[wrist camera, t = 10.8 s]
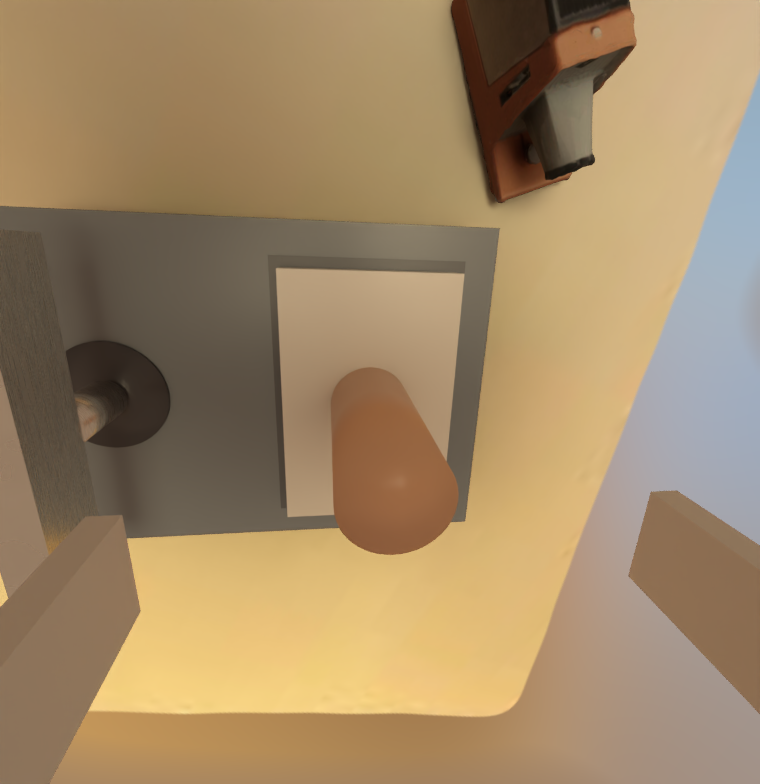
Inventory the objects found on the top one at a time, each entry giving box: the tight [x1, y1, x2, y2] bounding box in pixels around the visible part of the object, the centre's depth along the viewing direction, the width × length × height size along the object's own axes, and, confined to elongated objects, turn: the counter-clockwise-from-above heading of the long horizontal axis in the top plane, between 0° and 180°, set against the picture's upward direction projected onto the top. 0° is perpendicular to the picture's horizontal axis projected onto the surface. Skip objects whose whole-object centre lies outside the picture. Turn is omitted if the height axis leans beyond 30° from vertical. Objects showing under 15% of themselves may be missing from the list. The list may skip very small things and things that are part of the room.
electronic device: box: [452, 0, 637, 203], centre depth 18 cm, size 4×10×8 cm, turn 19°
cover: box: [276, 267, 464, 555], centre depth 16 cm, size 12×8×10 cm, turn 179°
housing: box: [0, 206, 500, 538], centre depth 22 cm, size 16×21×5 cm
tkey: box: [0, 229, 127, 598], centre depth 16 cm, size 2×14×6 cm, turn 178°
